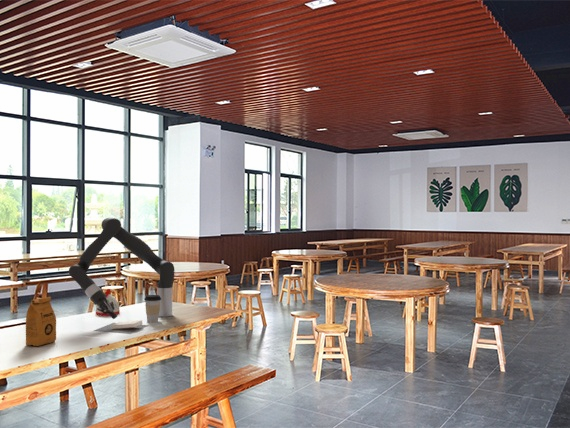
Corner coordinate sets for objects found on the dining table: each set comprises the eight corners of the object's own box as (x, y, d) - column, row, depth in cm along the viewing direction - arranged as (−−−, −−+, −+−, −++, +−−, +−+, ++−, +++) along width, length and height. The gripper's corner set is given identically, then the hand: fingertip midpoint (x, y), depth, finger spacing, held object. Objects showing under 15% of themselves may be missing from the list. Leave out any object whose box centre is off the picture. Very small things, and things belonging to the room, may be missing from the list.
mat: (92, 331, 268) (92, 330, 268) (113, 323, 287) (113, 322, 287) (130, 334, 263) (130, 333, 263) (149, 326, 282) (149, 325, 282)
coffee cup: (156, 324, 287) (156, 297, 287) (141, 323, 289) (141, 296, 289) (163, 320, 296) (164, 295, 296) (148, 319, 298) (149, 294, 298)
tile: (110, 325, 272) (134, 323, 269) (118, 322, 280) (142, 320, 277) (111, 329, 272) (135, 327, 269) (119, 325, 280) (142, 324, 277)
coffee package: (59, 342, 246) (60, 296, 246) (37, 348, 235) (37, 300, 235) (45, 339, 250) (45, 295, 250) (22, 345, 239) (23, 298, 239)
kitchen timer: (122, 311, 322) (122, 287, 321) (115, 315, 308) (115, 291, 308) (99, 311, 321) (100, 287, 321) (92, 315, 307) (92, 290, 307)
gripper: (92, 291, 271) (113, 315, 269) (106, 287, 284) (126, 310, 282) (83, 300, 273) (104, 325, 270) (98, 296, 285) (117, 319, 283)
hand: (115, 317), depth 276 cm, fingers closed
